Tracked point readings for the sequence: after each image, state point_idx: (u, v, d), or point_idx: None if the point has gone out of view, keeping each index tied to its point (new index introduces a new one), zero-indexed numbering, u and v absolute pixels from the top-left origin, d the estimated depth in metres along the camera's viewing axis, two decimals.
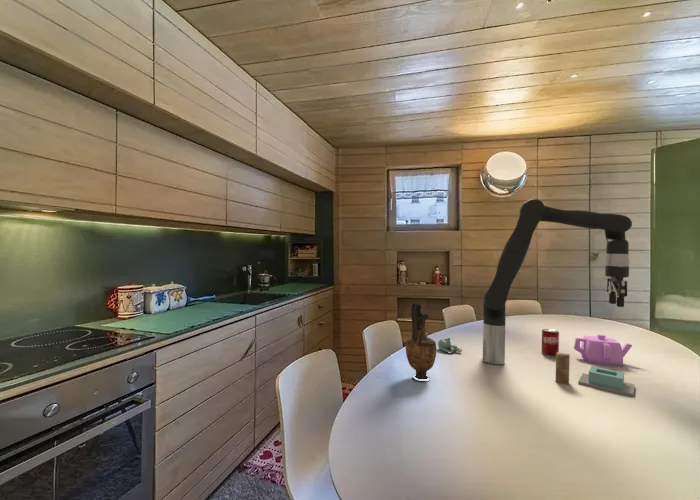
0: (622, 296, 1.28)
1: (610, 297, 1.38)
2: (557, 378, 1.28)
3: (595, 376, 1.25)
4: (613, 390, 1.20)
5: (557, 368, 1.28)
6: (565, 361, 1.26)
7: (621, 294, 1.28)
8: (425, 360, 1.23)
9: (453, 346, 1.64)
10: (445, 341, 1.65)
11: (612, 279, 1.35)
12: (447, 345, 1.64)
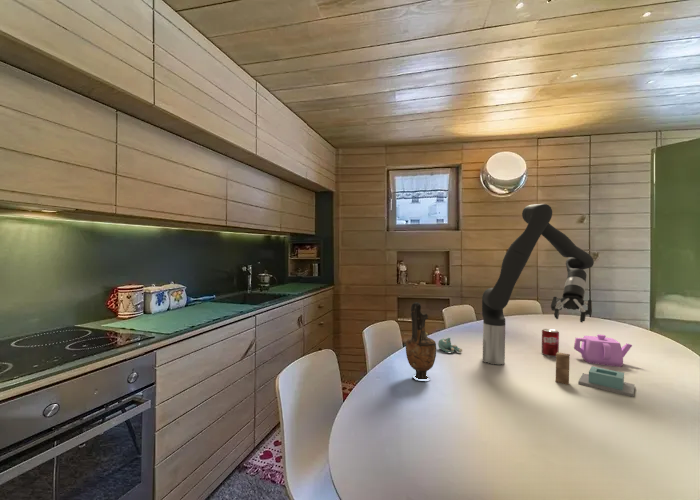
0: (588, 313, 1.34)
1: (558, 312, 1.40)
2: (557, 378, 1.28)
3: (595, 376, 1.25)
4: (613, 390, 1.20)
5: (557, 368, 1.28)
6: (565, 361, 1.26)
7: (590, 311, 1.34)
8: (425, 360, 1.23)
9: (453, 346, 1.64)
10: (445, 341, 1.65)
11: (569, 298, 1.42)
12: (447, 345, 1.64)
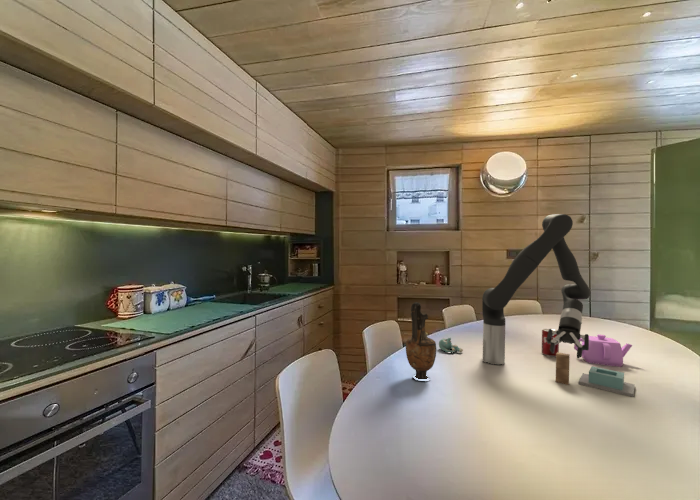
0: (585, 348, 1.29)
1: (554, 346, 1.35)
2: (557, 378, 1.28)
3: (595, 376, 1.25)
4: (613, 390, 1.20)
5: (557, 368, 1.28)
6: (565, 361, 1.26)
7: (587, 346, 1.29)
8: (425, 360, 1.23)
9: (454, 346, 1.64)
10: (446, 341, 1.65)
11: (565, 331, 1.37)
12: (448, 345, 1.64)
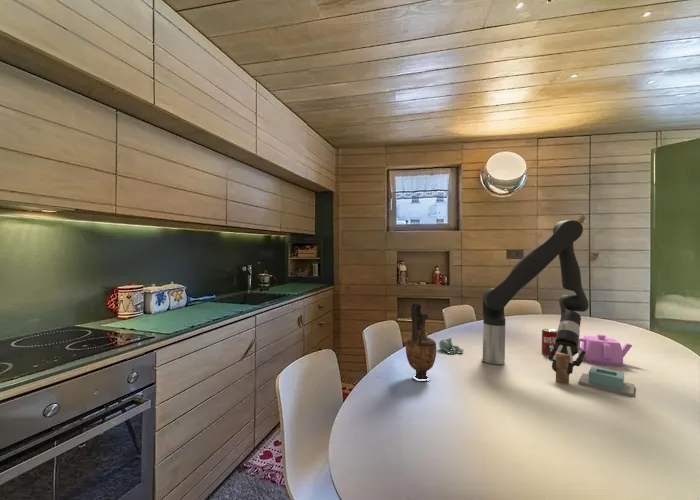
0: (576, 364, 1.26)
1: None
2: (557, 378, 1.28)
3: (595, 376, 1.25)
4: (613, 390, 1.20)
5: (557, 368, 1.28)
6: (565, 361, 1.26)
7: (578, 363, 1.25)
8: (425, 360, 1.23)
9: (455, 346, 1.64)
10: (447, 341, 1.65)
11: (562, 344, 1.32)
12: (449, 346, 1.64)
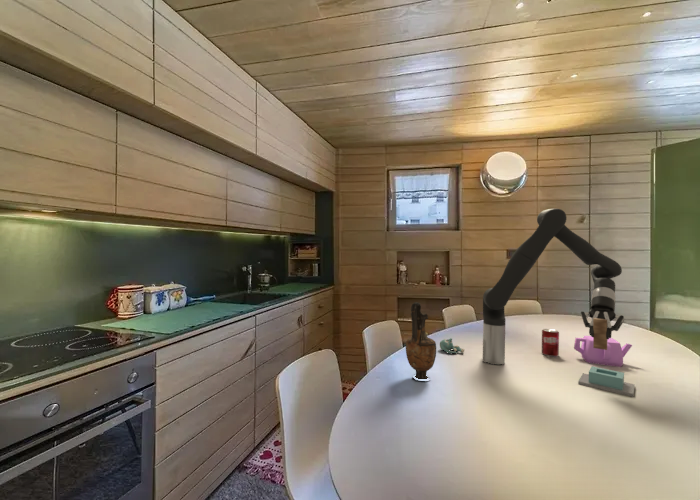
0: (614, 329, 1.24)
1: None
2: (595, 344, 1.26)
3: (595, 376, 1.25)
4: (613, 390, 1.20)
5: (595, 334, 1.26)
6: (603, 326, 1.24)
7: None
8: (425, 360, 1.23)
9: (455, 346, 1.63)
10: (447, 342, 1.64)
11: (598, 310, 1.31)
12: (449, 346, 1.63)
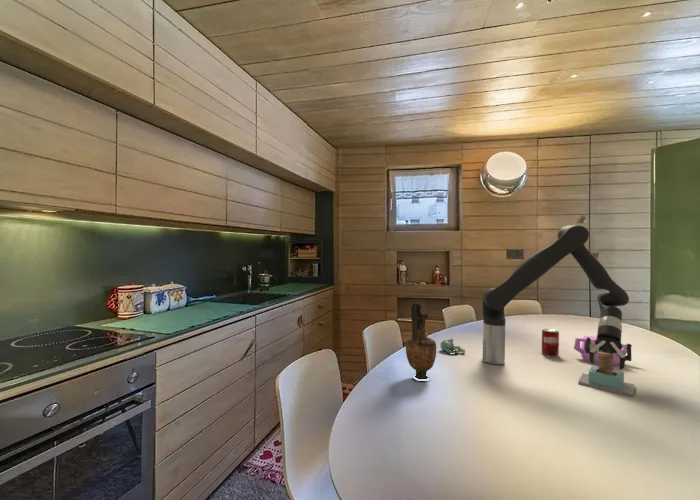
0: (628, 359, 1.23)
1: (593, 356, 1.28)
2: None
3: (595, 376, 1.25)
4: (613, 390, 1.20)
5: (600, 368, 1.26)
6: (609, 361, 1.24)
7: None
8: (425, 360, 1.23)
9: (457, 347, 1.63)
10: (449, 342, 1.63)
11: (604, 340, 1.30)
12: (451, 347, 1.63)
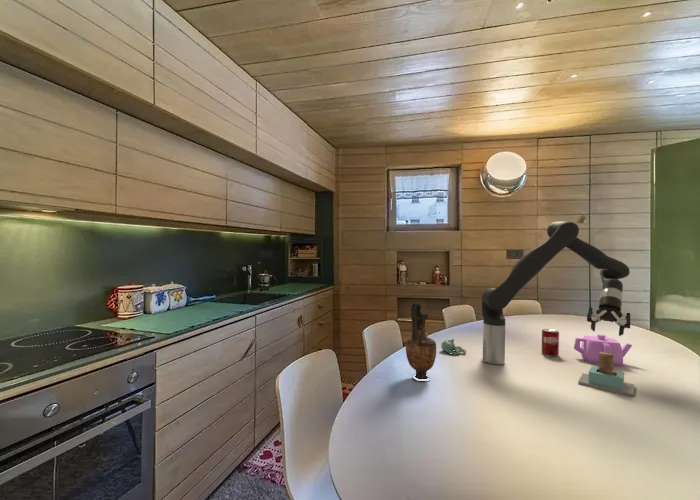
0: (627, 326, 1.33)
1: (595, 324, 1.38)
2: None
3: (595, 376, 1.25)
4: (613, 390, 1.20)
5: (600, 368, 1.26)
6: (609, 361, 1.24)
7: (629, 324, 1.33)
8: (425, 360, 1.23)
9: (458, 347, 1.62)
10: (450, 342, 1.62)
11: (606, 309, 1.40)
12: (452, 347, 1.62)
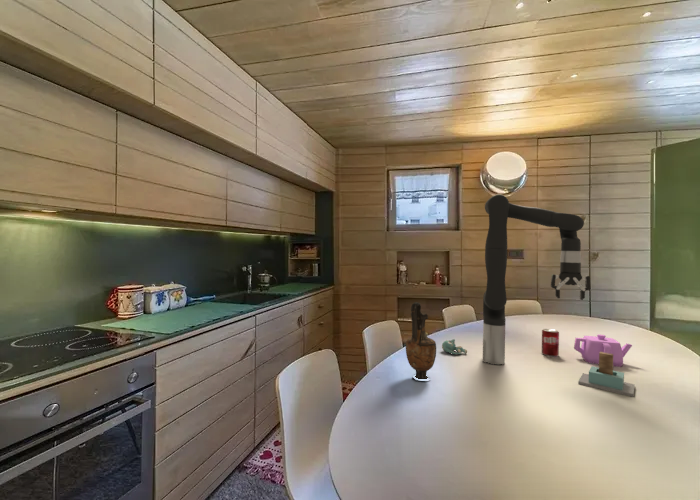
0: (587, 289, 1.42)
1: (559, 292, 1.45)
2: None
3: (595, 376, 1.25)
4: (613, 390, 1.20)
5: (600, 368, 1.26)
6: (609, 361, 1.24)
7: None
8: (425, 360, 1.23)
9: (459, 347, 1.62)
10: (451, 343, 1.62)
11: (568, 275, 1.44)
12: (453, 347, 1.61)
